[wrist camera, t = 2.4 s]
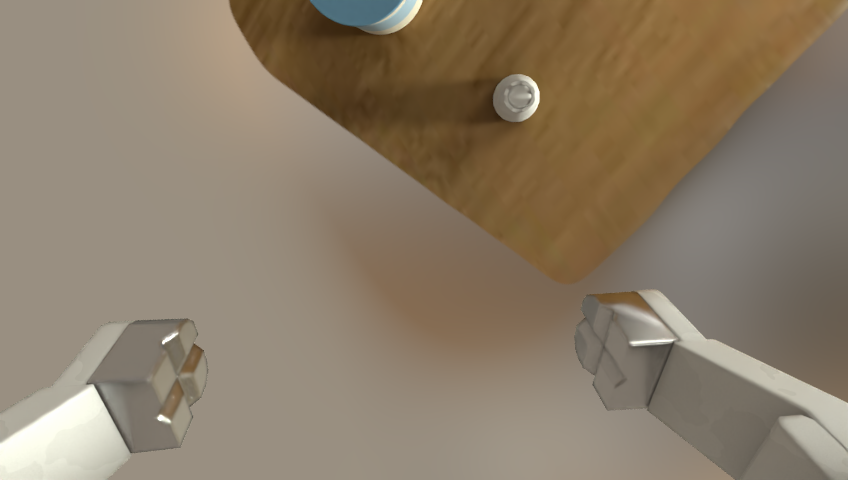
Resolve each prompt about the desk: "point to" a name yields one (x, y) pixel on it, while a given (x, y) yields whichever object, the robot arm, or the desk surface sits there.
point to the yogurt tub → (370, 13)
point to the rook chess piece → (516, 98)
